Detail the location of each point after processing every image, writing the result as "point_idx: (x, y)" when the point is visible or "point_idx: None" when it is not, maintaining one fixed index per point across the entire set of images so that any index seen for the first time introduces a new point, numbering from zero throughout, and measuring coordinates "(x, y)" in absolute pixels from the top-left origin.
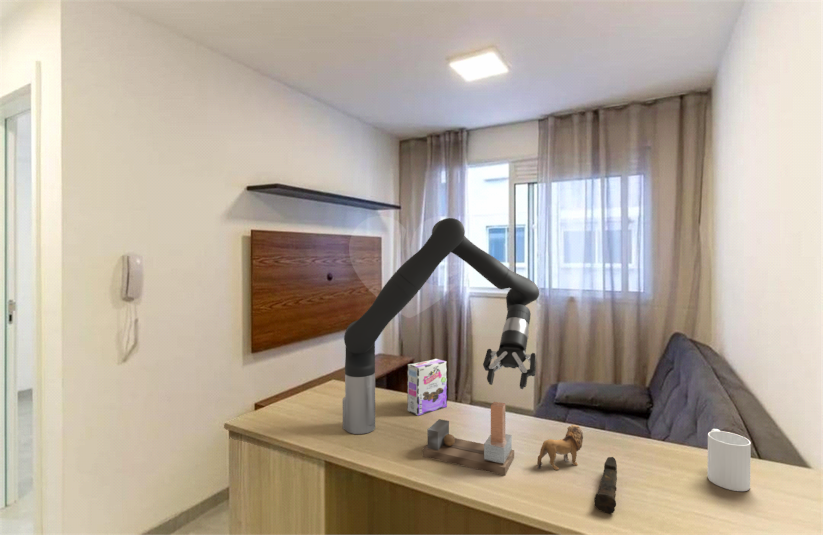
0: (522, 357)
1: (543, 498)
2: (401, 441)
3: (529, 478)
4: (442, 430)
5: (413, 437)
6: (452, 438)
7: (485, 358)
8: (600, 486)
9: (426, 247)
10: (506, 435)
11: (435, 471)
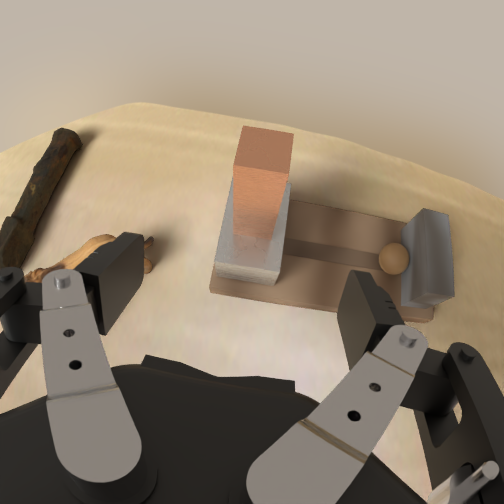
0: (10, 413)
1: (158, 148)
2: (482, 292)
3: (176, 203)
4: (421, 243)
5: (472, 322)
6: (387, 248)
7: (501, 404)
8: (56, 159)
9: None
10: (230, 253)
11: (374, 185)
